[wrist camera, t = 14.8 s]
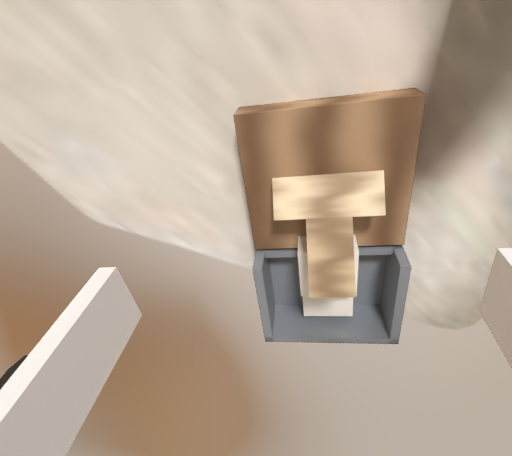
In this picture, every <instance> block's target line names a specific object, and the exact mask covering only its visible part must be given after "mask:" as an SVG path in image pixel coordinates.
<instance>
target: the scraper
mask: <svg viewBox="0 0 512 456" xmlns="http://www.w3.org/2000/svg"><path fill="white" fill-rule="evenodd" d="M272 188H273V211H274V221H282V220H304V219H306V234H307V258H308V281H309V298H327V297H356V285H355V261H354V238H353V217H369V216H385V215H386V207H385V184H384V170H381V171H367V172H352V173H338V174H324V175H309V176H295V177H280V178H272Z"/></svg>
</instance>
